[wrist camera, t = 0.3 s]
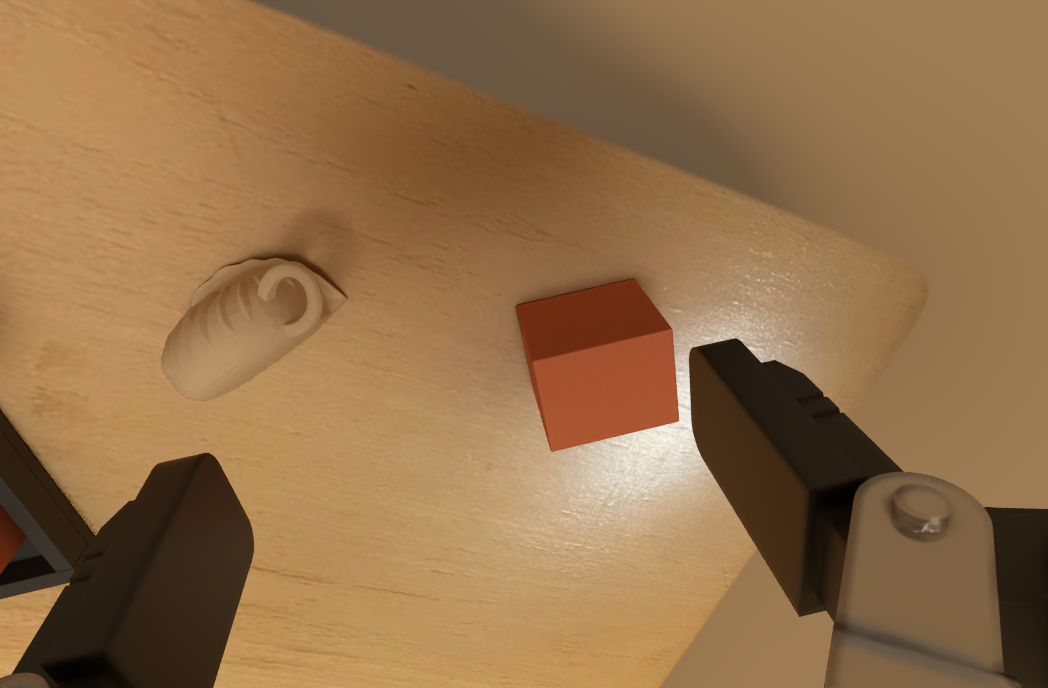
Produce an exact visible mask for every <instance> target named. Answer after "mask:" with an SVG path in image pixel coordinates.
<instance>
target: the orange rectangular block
mask: <svg viewBox="0 0 1048 688" xmlns="http://www.w3.org/2000/svg"><path fill="white" fill-rule="evenodd" d="M26 538H27V536H26V535H25V534H24V532H23V531H22V530H21V529H20V527H19V526H18V525H17V524H16V523H15V521H14V520H13V519H12V518H11V517H10V515H9V514H8V513H7V512H6V510H5V509H4V508H3V507H2V506H1V504H0V574H1V573H2V571H3V570H4V569H5V567H6V566H7V564H8V563H9V562H10V560H11V559H12V558H13V556H14V555H15V553H16V552H17V551H18V549H19V548H20V547H21V545H22V544H23V542H24V541H25V540H26Z"/></svg>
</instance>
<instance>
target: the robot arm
mask: <svg viewBox="0 0 1048 688" xmlns="http://www.w3.org/2000/svg"><path fill="white" fill-rule="evenodd" d="M689 372H690V396H691V420H692V429H693V434H694V438H695V441H696V444H697V447H698V450H699V452H700V454H701V456H702V458H703V460H704V462H705V463H706V465H707V467H708V468H709V470H710V471H711V473H712V475H713V476H714V478H715V480H716V481H717V483H718V485H719V486H720V488H721V489H722V491H723V493H724V494H725V496H726V498H727V499H728V501H729V503H730V504H731V506H732V507H733V509H734V511H735V512H736V514H737V516H738V517H739V519H740V521H741V522H742V524H743V525H744V527H745V529H746V530H747V532H748V534H749V535H750V537H751V539H752V540H753V542H754V543H755V545H756V547H757V548H758V550H759V552H760V553H761V555H762V557H763V558H764V560H765V561H766V563H767V565H768V566H769V568H770V569H771V571H772V573H773V574H774V576H775V578H776V579H777V581H778V583H779V584H780V586H781V588H782V589H783V591H784V592H785V594H786V596H787V597H788V599H789V601H790V602H791V604H792V606H793V607H794V609H795V611H796V612H797V613H798V615H799V617H801V616H805V615H809V614H813V613H817V612H822V611H827V612H828V614H829V615H830V617H831V618H832V620H833V621H834V626H833V632H832V639H831V645H830V651H829V658H828V664H827V671H826V677H825V683H824V688H1048V509H1024V508H1023V509H1022V508H1021V509H1020V508H993V507H983V506H982V505H981V504H980V503H979V502H978V501H977V500H976V499H975V498H974V497H973V496H971V495H970V494H969V493H967V492H966V491H965V490H963V489H961V488H959V487H957V486H956V485H954V484H951V483H949V482H947V481H945V480H942V479H939V478H936V477H933V476H929V475H925V474H920V473H912V472H903V471H902V470H901V469H900V468H899V467H898V466H897V465H896V464H895V463H894V462H893V461H892V460H891V459H890V458H889V457H888V456H887V455H886V454H885V453H884V452H883V451H882V450H881V449H880V448H879V447H878V446H877V445H876V444H875V443H874V442H873V441H872V440H871V439H870V438H869V437H867V435H866V434H865V433H864V432H863V431H861V429H859V428H858V426H856V425H855V424H854V423H853V422H852V421H851V420H850V419H849V418H848V417H847V416H846V415H845V414H844V413H840V411H839V408H838V407H837V406H836V405H835V404H834V403H833V402H832V401H831V400H830V399H829V398H828V397H824V396H823V392H822V391H821V390H820V389H819V388H818V387H817V386H816V385H815V384H814V383H813V382H812V381H811V380H809V379H808V378H807V377H806V376H805V375H804V374H803V373H801V372H799V371H797V370H795V369H793V368H790V367H788V366H786V365H784V364H782V363H780V362H778V361H776V360H773V361H769V362H764V363H761V362H760V361H759V360H758V359H757V358H756V357H755V356H754V355H753V354H752V353H751V351H750V350H749V349H748V348H747V347H746V346H745V345H744V344H743V343H742V342H741V341H740V340H738V339H736V338H734V339H730V340H725V341H721V342H716V343H712V344H707V345H702V346H698V347H694V348H692V349H691V351H690V354H689ZM253 553H254V538H253V531H252V527H251V524H250V521H249V519H248V517H247V515H246V513H245V511H244V509H243V507H242V505H241V504H240V502H239V500H238V498H237V496H236V494H235V492H234V490H233V488H232V486H231V485H230V483H229V481H228V479H227V477H226V475H225V473H224V471H223V469H222V467H221V466H220V464H219V462H218V460H217V459H216V458H215V457H214V456H213V455H211V454H210V453H203V454H198V455H194V456H189V457H185V458H180V459H176V460H171V461H166V462H162V463H159V464H157V465H156V466H155V467H154V468H153V470H152V471H151V473H150V475H149V476H148V478H147V480H146V482H145V483H144V485H143V487H142V488H141V490H140V492H139V494H138V495H137V497H136V499H135V500H133V501H129V502H128V503H127V504H126V505H124V506H123V507H122V508H121V509H120V510H119V511H118V512H117V513H116V514H115V515H114V516H113V517H112V518H111V519H110V520H109V521H108V522H107V523H106V524H105V525H104V526H103V527H102V528H101V529H100V530H99V532H98V534H97V535H96V537H95V539H94V540H93V542H92V544H91V545H90V547H89V548H88V550H87V552H86V553H85V555H84V561H83V562H80V563H79V565H78V566H77V568H76V570H75V571H74V573H73V575H72V576H71V578H70V580H69V581H70V585H69V586H65V588H64V589H63V591H62V593H61V594H60V596H59V598H58V599H57V601H56V602H55V604H54V606H53V607H52V609H51V611H50V612H49V614H48V616H47V617H46V619H45V620H44V622H43V624H42V625H41V627H40V629H39V630H38V632H37V634H36V635H35V637H34V638H33V640H32V642H31V643H30V645H29V647H28V648H27V650H26V652H25V653H24V655H23V656H22V658H21V660H20V661H19V663H18V665H17V666H16V668H15V670H14V671H13V673H12V675H9V676H5V677H3V678H0V688H213V686H214V683H215V680H216V676H217V673H218V670H219V667H220V663H221V660H222V657H223V653H224V650H225V647H226V644H227V640H228V637H229V634H230V631H231V627H232V624H233V621H234V617H235V614H236V611H237V608H238V604H239V601H240V598H241V595H242V591H243V588H244V585H245V581H246V578H247V575H248V572H249V568H250V565H251V562H252V558H253Z"/></svg>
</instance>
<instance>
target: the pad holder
mask: <svg viewBox="0 0 1048 688" xmlns="http://www.w3.org/2000/svg"><path fill="white" fill-rule="evenodd" d="M0 504H1V506H2V507H3V508H4V509H5V510H6V512H7V513H8V514H9V515H10V517H11V518H12V519H13V520H14V521H15V523H16V524H17V525H18V526H19V527H20V529H21V530H22V531H23V532H24V534H25V535H26V536H27V538H26V540H25V541H24V542H23V544H22V545H21V547H20V548H19V549H18V551H17V552H16V553H15V555H14V556H13V558H12V559H11V560H10V562H9V563H8V564H7V566H6V567H5V569H4V570H3V571H2V573H1V574H0V599H3V598H7V597H12V596H16V595H20V594H24V593H28V592H32V591H37V590H41V589H45V588H49V587H53V586H57V585H61V584H66V583H70V581H69V580H70V578H71V576H72V575H73V573H74V571H75V570H76V568H77V566H78V565H79V563H80V562H83V561H84V555H85V553H86V552H87V550H88V548H89V547H90V545H91V544H92V542H93V540H94V539H95V537H94V536H93V534H92V533H91V532H90V530H89V529H88V528H87V526H86V525H85V524H84V522H83V521H82V520H81V518H80V517H79V516H78V514H77V513H76V512H75V510H74V509H73V508H72V506H71V505H70V504H69V502H68V501H67V499H66V498H65V497H64V495H63V494H62V493H61V491H60V490H59V489H58V487H57V486H56V485H55V483H54V482H53V481H52V479H51V478H50V477H49V475H48V474H47V473H46V471H45V470H44V469H43V467H42V466H41V465H40V463H39V462H38V461H37V459H36V458H35V457H34V455H33V454H32V453H31V451H30V450H29V449H28V447H27V446H26V445H25V443H24V442H23V441H22V439H21V438H20V437H19V435H18V434H17V433H16V431H15V430H14V429H13V427H12V426H11V425H10V423H9V422H8V421H7V419H6V418H5V417H4V415H3V414H2V413H1V411H0Z"/></svg>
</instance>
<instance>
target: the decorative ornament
mask: <svg viewBox="0 0 1048 688" xmlns="http://www.w3.org/2000/svg"><path fill="white" fill-rule="evenodd" d="M346 300H347V297H346V296H344V295H343V294H342V293H341V292H340V291H339V290H337V289H336V288H335V287H334V286H333V285H331V284H330V283H329V282H328V281H326V280H325V279H324V278H323V277H321V276H320V275H318V274H316V273H314V272H313V271H311V270H310V269H309V268H307V267H306V266H304V265H303V264H301V263H299V262H290V261H287V260H284V259H281V258H272V259H269V260H265V261H262V260H256V259H250V260H248V261H246V262H243V263H241V264H238V265H231V266H226V267H224V268H222V269H219V270H218V272H217V273H216V274H215V275H214V276H213V277H212V278H211V279H210V280H208V281H207V282H205V283H204V284H203V285H201V286H200V287H199V288H198V289H197V291H196V292H195V294H194V296H193V298H192V304H191V308H190V309H189V310H188V312H187V313H186V315H185V316H184V317H183V318H182V319H181V320H180V321H179V323H178V324H177V325H176V327H175V328H174V329H173V331H172V332H171V333H170V334H169V336H168V338H167V340H166V342H165V347H164V351H163V354H162V358H161V367H162V370H163V372H164V374H165V375H166V377H167V378H168V379H169V380H170V382H171V384H172V385H173V387H174V388H175V389H176V390H177V391H178V392H179V393H180V394H182V395H183V396H184V397H186V398H188V399H191V400H196V401H205V400H211V399H214V398H217V397H220V396H222V395H224V394H226V393H228V392H230V391H232V390H234V389H236V388H238V387H240V386H241V385H243V384H244V383H246V382H248V381H249V380H251V379H252V378H253V377H255V376H256V375H258V374H259V373H261V372H262V371H263V370H265V369H266V368H268V367H269V366H271V365H272V364H273V363H275V362H276V361H278V360H279V359H281V358H282V357H283V356H285V355H286V354H288V353H289V352H290V351H291V350H293V349H294V348H295V347H297V346H298V345H299V344H301V343H302V342H303V341H304V340H306V339H307V338H308V337H310V336H311V335H312V334H313V333H314V332H315V331H316V330H317V329H318V328H319V327H321V326H322V325H323V324H324V323H325V322H326V321H327V320H328V319H329V318H330V317H331V316H332V315H333V313H335V312H336V311H337V310H338V309H339V308H340V307H341V306H342V305H343V304H344V302H345V301H346Z"/></svg>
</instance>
